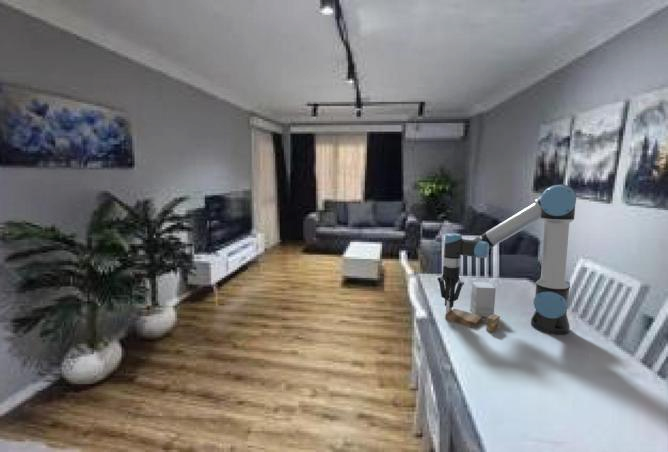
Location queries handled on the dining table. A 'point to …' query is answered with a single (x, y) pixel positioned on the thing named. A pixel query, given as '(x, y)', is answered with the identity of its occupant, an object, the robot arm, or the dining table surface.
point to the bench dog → (492, 323)
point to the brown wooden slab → (464, 318)
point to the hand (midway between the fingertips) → (448, 312)
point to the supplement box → (482, 299)
